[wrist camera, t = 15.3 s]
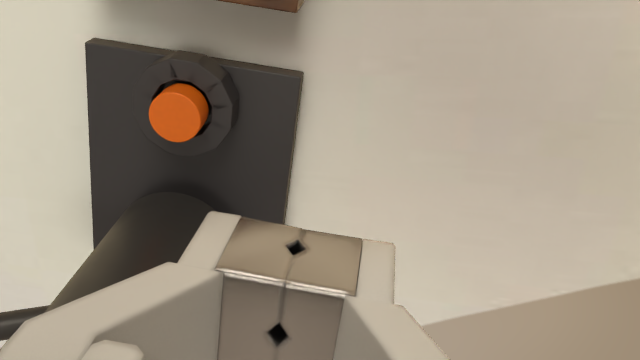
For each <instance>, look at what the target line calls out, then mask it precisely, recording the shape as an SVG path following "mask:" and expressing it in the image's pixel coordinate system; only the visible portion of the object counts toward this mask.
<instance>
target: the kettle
mask: <svg viewBox="0 0 640 360" xmlns="http://www.w3.org/2000/svg"><path fill="white" fill-rule="evenodd" d="M211 211H216V210H214V209H213V208H212V207H211V206H209V205H208V204H206V203H204V202H203V201H201V200H199V199H196V198H194V197H191V196H188V195H185V194H180V193H173V192H161V193H154V194H150V195H147V196H144V197H142V198H140V199H138V200H137V201H135V202H134V203H132V204H131V205H130V206H129V207H128V208H127V209H126V210H125V211H124V213H123V214H122V215H121V216H120V218H119V219H118V220H117V222H116V223H115V224H114V225H113V227H112V228H111V229H110V230H109V232H108V233H107V234H106V235H105V237H104V238H103V239H102V240H101V242H100V243H99V244H98V245H97V247H96V248H95V249H94V251H93V252H92V253H91V254H90V256H89V257H88V258H87V259H86V261H85V262H84V263H83V264H82V266H81V267H80V268H79V269H78V271H77V272H76V273H75V274H74V276H73V277H72V278H71V279H70V281H69V282H68V283H67V285H66V286H65V287H64V288H63V290H62V291H61V292H60V293H59V295H58V296H57V297H56V298H55V300H54V301H53V302H52V303H51V305H48V306H42V307H35V308H28V309H22V310H15V311H8V312H2V313H0V341H1V340H7V339H9V338H10V337H11V336H12V335H13V334H14V333H15V332H16V331H17V329H18V328H19V327H20V326H21V325H22V324H23V323H24V322H25V321H26V320H28V319H31V318H33V317H36V316H38V315H40V314H43V313H45V312H48V311H50V310H53V309H55V308H57V307H60V306H62V305H65V304H67V303H70V302H72V301H74V300H77V299H79V298H82V297H84V296H87V295H89V294H91V293H94V292H96V291H99V290H101V289H103V288H106V287H108V286H111V285H113V284H116V283H118V282H120V281H123V280H125V279H128V278H130V277H133V276H135V275H137V274H140V273H142V272H145V271H147V270H150V269H152V268H154V267H157V266H159V265H162V264H164V263H166V262H172V263H178V261H179V259H180V258H181V256H182V254H183V253H184V251H185V250H186V248H187V246H188V245H189V243H190V241H191V240H192V238H193V237H194V235H195V233H196V232H197V230H198V228H199V227H200V225H201V223H202V222H203V220H204V219H205V217H206V215H207V214H208V213H209V212H211ZM216 212H217V211H216Z"/></svg>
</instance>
